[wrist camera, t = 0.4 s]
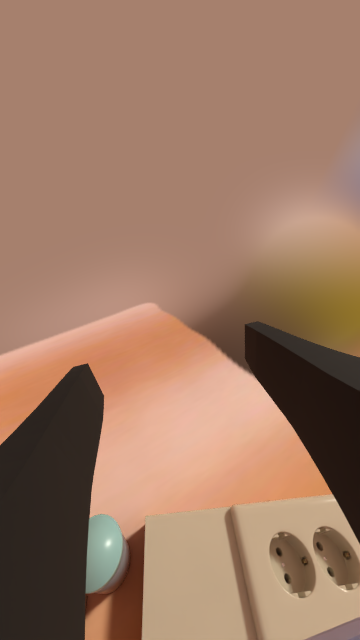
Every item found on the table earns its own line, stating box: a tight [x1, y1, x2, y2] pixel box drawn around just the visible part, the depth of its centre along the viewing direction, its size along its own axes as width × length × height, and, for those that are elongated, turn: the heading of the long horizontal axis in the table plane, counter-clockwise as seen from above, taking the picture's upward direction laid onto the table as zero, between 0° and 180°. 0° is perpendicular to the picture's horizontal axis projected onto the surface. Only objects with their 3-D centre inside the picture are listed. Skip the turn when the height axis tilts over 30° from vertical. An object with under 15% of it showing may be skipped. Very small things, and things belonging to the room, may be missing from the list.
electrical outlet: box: [142, 494, 360, 640], centre depth 16 cm, size 7×4×18 cm
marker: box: [86, 514, 130, 594], centre depth 15 cm, size 3×3×7 cm
